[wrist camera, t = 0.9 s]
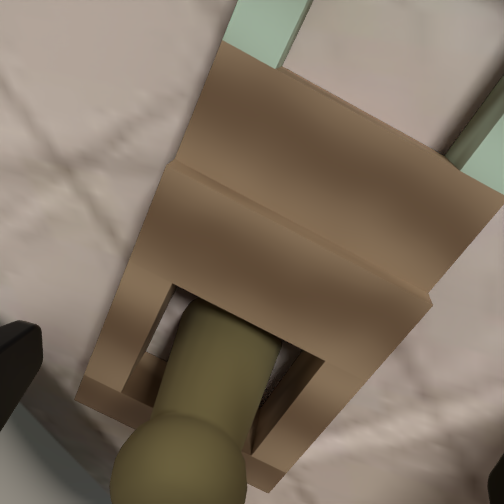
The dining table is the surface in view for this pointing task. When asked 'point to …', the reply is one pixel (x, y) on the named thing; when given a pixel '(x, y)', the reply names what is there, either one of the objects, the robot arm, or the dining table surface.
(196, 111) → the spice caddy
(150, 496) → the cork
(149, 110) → the dining table surface
